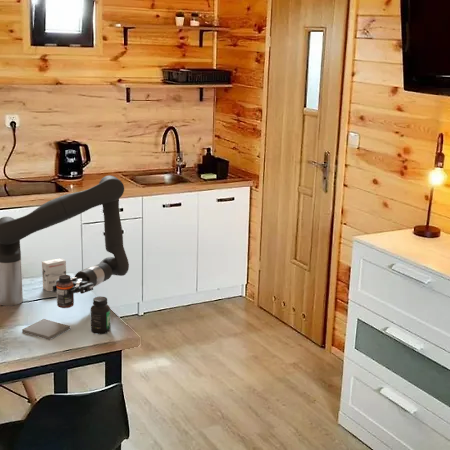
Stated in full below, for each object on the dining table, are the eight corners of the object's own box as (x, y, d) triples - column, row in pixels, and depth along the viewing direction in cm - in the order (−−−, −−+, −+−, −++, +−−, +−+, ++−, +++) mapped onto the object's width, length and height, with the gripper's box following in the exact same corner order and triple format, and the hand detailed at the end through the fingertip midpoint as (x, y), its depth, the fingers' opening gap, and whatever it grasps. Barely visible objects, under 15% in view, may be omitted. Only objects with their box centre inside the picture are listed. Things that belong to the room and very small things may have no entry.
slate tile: (22, 332, 246) (22, 329, 246) (43, 321, 256) (43, 318, 255) (49, 339, 241) (49, 336, 241) (70, 328, 251) (70, 325, 250)
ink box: (61, 284, 294) (60, 257, 291) (67, 287, 291) (66, 260, 288) (42, 288, 289) (41, 260, 286) (47, 291, 285) (46, 264, 282)
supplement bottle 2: (113, 332, 249) (113, 300, 246) (95, 336, 245) (95, 303, 242) (105, 325, 255) (105, 294, 252) (87, 329, 251) (87, 297, 248)
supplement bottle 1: (66, 301, 260) (66, 272, 257) (77, 305, 257) (76, 276, 254) (53, 305, 256) (52, 276, 253) (63, 310, 252) (63, 280, 249)
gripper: (74, 264, 269) (44, 277, 255) (105, 271, 263) (76, 284, 248) (74, 283, 271) (45, 296, 257) (105, 290, 265) (76, 304, 250)
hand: (60, 290), depth 253 cm, fingers closed on supplement bottle 1, 6 cm apart
